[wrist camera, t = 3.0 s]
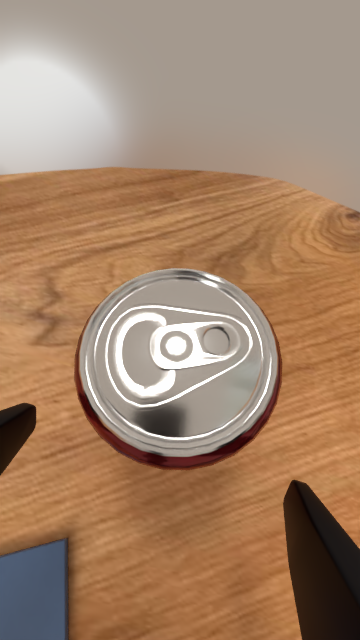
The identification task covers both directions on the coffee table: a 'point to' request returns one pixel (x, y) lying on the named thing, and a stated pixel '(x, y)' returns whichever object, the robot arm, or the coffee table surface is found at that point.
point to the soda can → (178, 369)
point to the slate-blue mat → (35, 593)
